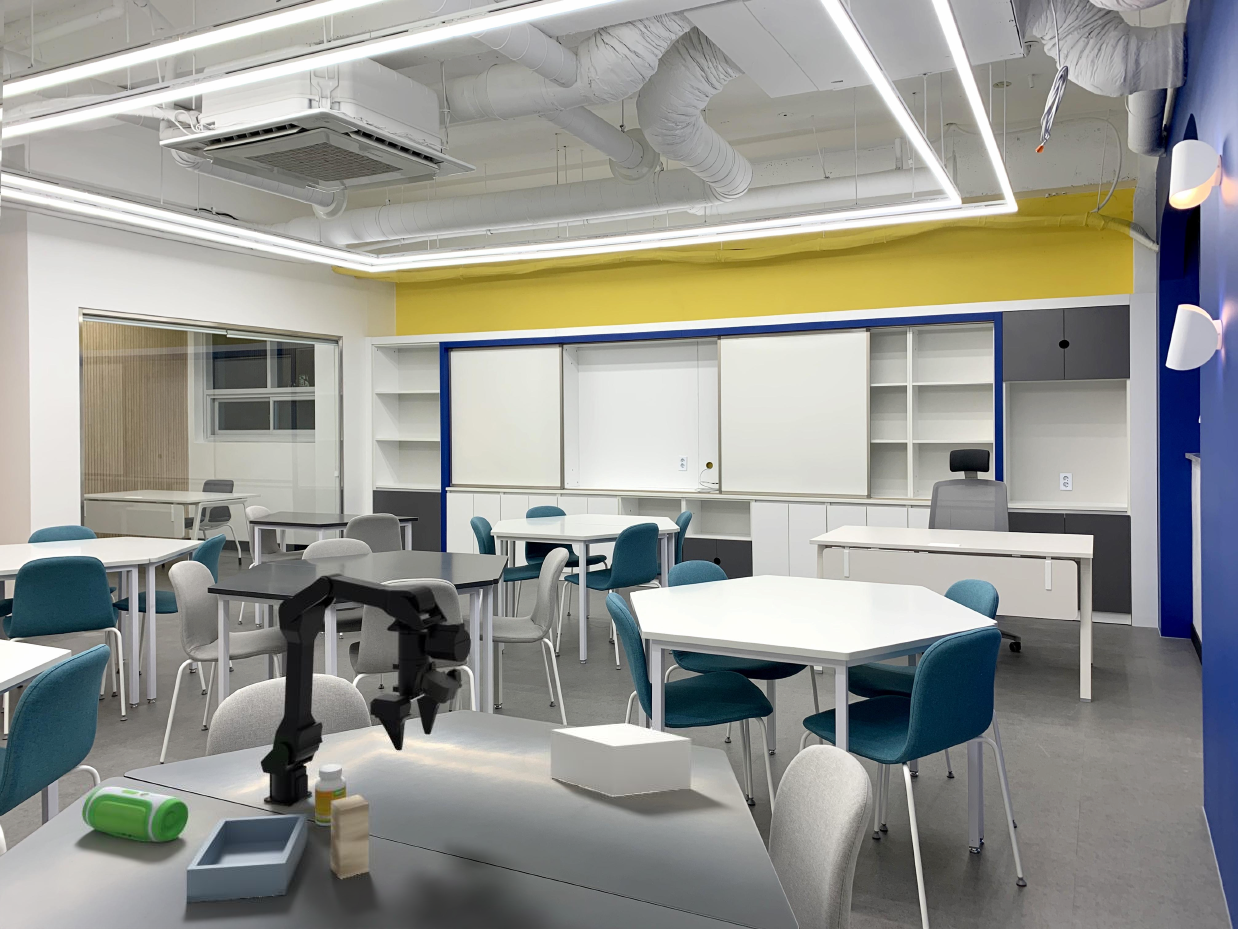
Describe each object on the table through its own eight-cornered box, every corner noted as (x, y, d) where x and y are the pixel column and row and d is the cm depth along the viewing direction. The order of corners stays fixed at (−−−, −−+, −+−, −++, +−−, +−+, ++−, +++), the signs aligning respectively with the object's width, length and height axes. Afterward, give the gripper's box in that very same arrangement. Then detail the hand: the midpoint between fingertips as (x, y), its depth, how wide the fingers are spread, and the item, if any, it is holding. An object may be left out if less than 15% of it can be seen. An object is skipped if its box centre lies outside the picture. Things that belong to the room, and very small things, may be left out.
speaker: (191, 834, 154) (191, 791, 153) (157, 852, 147) (157, 807, 147) (115, 819, 159) (115, 778, 159) (79, 836, 152) (79, 793, 152)
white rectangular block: (687, 804, 168) (687, 751, 168) (541, 792, 173) (542, 741, 173) (693, 776, 183) (694, 727, 182) (558, 766, 188) (559, 719, 187)
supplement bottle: (336, 828, 156) (336, 774, 156) (309, 825, 157) (309, 772, 157) (351, 815, 161) (351, 763, 161) (324, 813, 162) (324, 761, 162)
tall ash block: (330, 868, 141) (330, 801, 141) (358, 860, 144) (358, 794, 144) (340, 879, 138) (340, 810, 137) (368, 871, 140) (368, 803, 140)
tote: (220, 848, 148) (220, 818, 148) (307, 842, 150) (307, 813, 150) (186, 902, 130) (186, 869, 130) (285, 895, 133) (285, 863, 132)
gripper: (423, 673, 147) (422, 765, 147) (478, 649, 164) (478, 731, 165) (367, 667, 151) (367, 756, 151) (427, 644, 168) (427, 724, 168)
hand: (413, 742), depth 159 cm, fingers open, 9 cm apart
